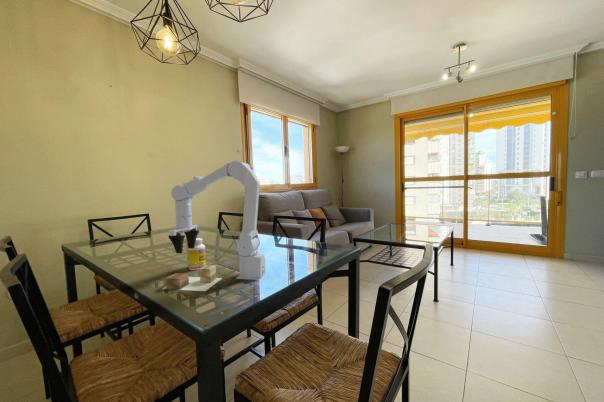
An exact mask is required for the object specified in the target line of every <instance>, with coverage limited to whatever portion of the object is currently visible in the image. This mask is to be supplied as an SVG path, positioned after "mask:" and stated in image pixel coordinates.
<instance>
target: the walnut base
mask: <svg viewBox="0 0 604 402" xmlns="http://www.w3.org/2000/svg"><path fill="white" fill-rule="evenodd" d="M189 277H190V276H189V273H178V272H175V273H173V274H172V275H169V276H168V277H166V278H165V287H166V288H168V289H167V290H172V289H181V288H182V287H184V286H186V285H187V284H189Z"/></svg>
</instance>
